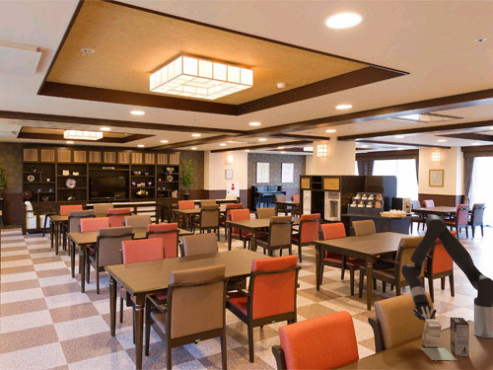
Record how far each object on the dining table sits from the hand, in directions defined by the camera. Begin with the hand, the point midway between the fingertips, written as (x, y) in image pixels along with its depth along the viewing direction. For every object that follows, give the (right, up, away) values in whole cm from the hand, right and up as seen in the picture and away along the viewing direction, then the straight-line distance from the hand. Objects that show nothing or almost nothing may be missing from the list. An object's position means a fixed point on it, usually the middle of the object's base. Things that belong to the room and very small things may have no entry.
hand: (429, 327), depth 198 cm
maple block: (0, -9, 0) cm, 9 cm away
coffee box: (+12, -10, -7) cm, 17 cm away
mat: (0, -10, -9) cm, 14 cm away
